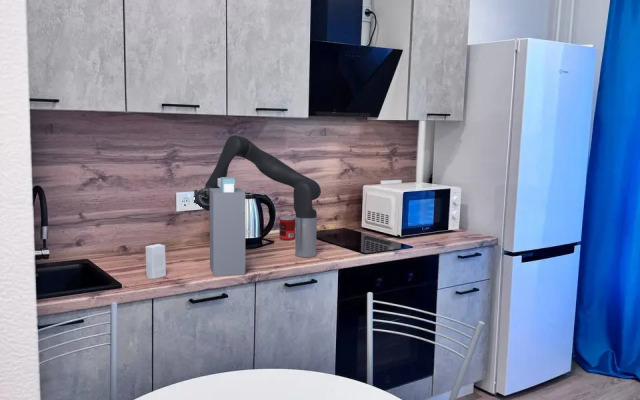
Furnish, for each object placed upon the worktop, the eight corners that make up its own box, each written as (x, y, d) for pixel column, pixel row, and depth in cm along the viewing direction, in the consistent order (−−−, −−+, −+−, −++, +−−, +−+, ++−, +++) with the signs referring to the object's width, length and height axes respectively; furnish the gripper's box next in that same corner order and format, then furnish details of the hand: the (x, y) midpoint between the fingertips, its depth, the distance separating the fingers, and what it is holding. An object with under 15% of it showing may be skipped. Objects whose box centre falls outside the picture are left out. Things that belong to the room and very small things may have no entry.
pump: (216, 185, 246) (216, 173, 245) (227, 185, 247) (227, 173, 247) (222, 192, 225) (222, 179, 224) (235, 192, 226) (235, 178, 226)
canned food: (296, 238, 302) (297, 216, 301) (292, 241, 295) (292, 219, 293) (282, 237, 304) (282, 215, 302) (277, 240, 296) (277, 218, 295)
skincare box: (159, 274, 229) (158, 243, 228) (166, 276, 227) (165, 245, 225) (145, 277, 225) (145, 246, 223) (152, 279, 222) (151, 247, 220)
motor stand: (209, 267, 241) (209, 188, 236) (239, 266, 244) (239, 187, 240) (213, 276, 227) (213, 192, 223) (245, 274, 231) (245, 192, 226)
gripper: (191, 188, 268) (195, 182, 253) (223, 187, 272) (229, 182, 257) (192, 204, 267) (195, 200, 252) (224, 204, 271) (229, 199, 256)
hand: (212, 191), depth 254 cm, fingers open, 8 cm apart
